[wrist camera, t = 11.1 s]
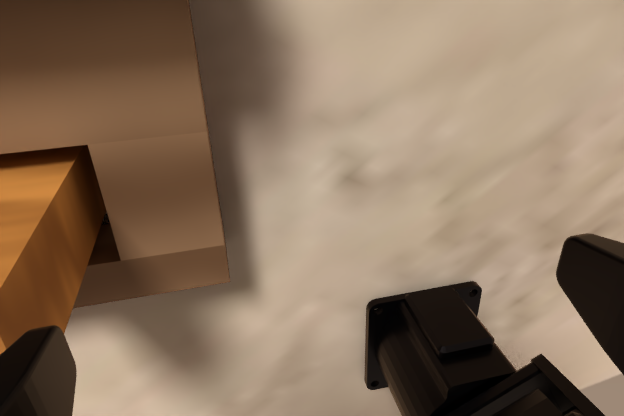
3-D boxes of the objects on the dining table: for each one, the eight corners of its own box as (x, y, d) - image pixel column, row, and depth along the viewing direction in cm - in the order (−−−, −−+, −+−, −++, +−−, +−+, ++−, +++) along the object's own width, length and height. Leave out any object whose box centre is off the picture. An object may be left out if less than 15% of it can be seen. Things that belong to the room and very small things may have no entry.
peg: (107, 208, 19) (36, 413, 10) (27, 218, 18) (-117, 443, 10) (87, 138, 18) (-13, 310, 9) (0, 147, 17) (-194, 338, 8)
